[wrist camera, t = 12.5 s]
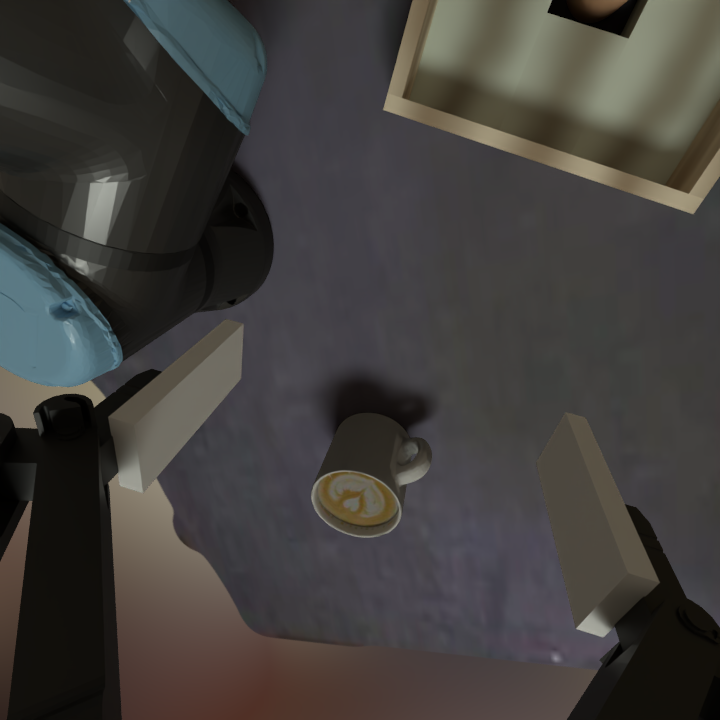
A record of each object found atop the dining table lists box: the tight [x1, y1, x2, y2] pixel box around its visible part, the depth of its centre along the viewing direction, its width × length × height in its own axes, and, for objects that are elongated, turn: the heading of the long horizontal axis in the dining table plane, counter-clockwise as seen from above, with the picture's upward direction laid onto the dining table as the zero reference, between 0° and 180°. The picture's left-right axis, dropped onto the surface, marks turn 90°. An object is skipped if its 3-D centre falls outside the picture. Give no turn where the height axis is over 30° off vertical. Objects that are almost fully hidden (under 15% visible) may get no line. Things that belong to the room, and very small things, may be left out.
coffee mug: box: [311, 413, 432, 537], centre depth 47 cm, size 13×10×10 cm
